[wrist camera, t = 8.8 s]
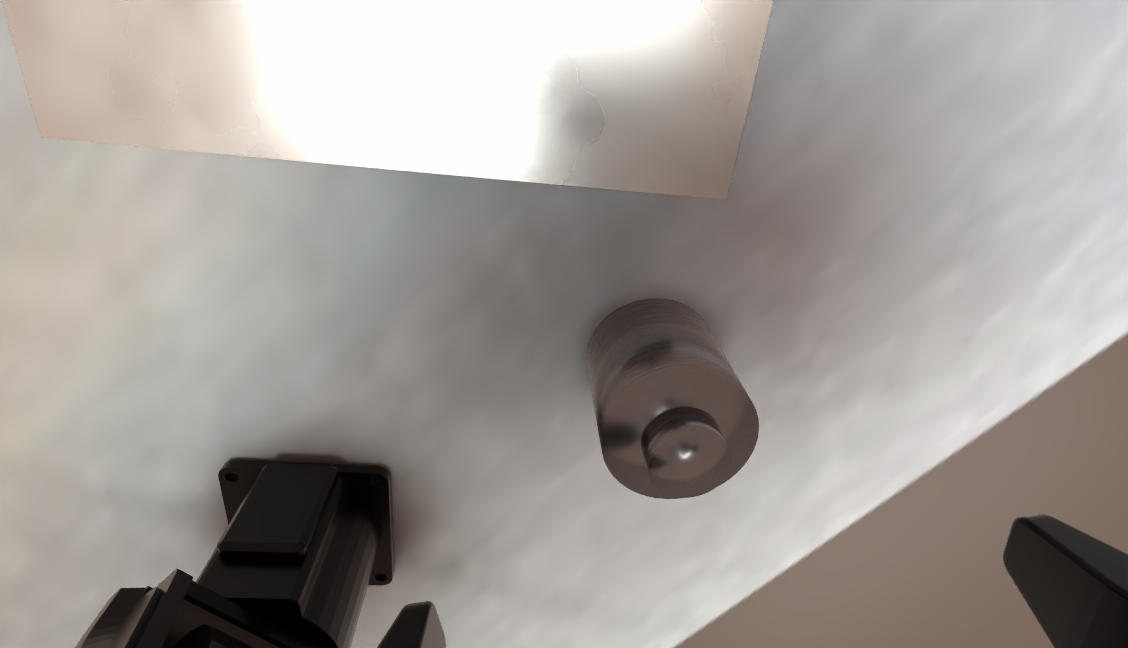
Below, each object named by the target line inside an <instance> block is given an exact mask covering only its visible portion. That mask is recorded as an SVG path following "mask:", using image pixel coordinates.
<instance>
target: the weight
mask: <svg viewBox="0 0 1128 648" xmlns="http://www.w3.org/2000/svg"><path fill="white" fill-rule="evenodd" d="M587 368H588V374H589V380H590V385H591V391H592V397H593V403H594V408H595V414H596V420H597V426H598V431H599V437H600V443H601V448H602V454H603V458H604V461H605V463H606V465H607V467H608V469H609V471H610V472H611V474H612V475H613V476H614V477H615V478H616V479H617V480H618V481H619V482H620V483H621V484H623V485H624V486H626V487H627V488H629V489H630V490H632V491H635V492H637V493H639V494H642V495H645V496H649V497H654V498H663V499H677V498H688V497H695V496H699V495H702V494H705V493H707V492H709V491H711V490H713V489H714V488H716V487H718V486H719V485H721V484H723V483H724V482H726V481H727V480H729V479H730V478H731V477H732V476H734V475H735V474H736V473H737V472H738V471H739V470H740V469H741V468H742V467H743V466H744V464H745V463H746V462H747V460H748V459H749V457H750V456H751V454H752V452H753V450H754V447H755V445H756V442H757V438H758V431H759V423H758V416H757V412H756V409H755V407H754V405H753V403H752V401H751V400H750V398H749V396H748V394H747V393H746V391H745V389H744V388H743V386H742V384H741V383H740V381H739V379H738V378H737V376H736V374H735V373H734V371H733V369H732V367H731V366H730V364H729V362H728V361H727V359H726V357H725V356H724V354H723V352H722V351H721V349H720V347H719V346H718V344H717V342H716V340H715V339H714V337H713V335H712V334H711V332H710V330H709V329H708V327H707V325H706V324H705V322H704V321H703V319H702V318H701V317H700V316H699V315H698V314H697V313H696V312H695V311H693V310H692V309H690V308H689V307H687V306H685V305H683V304H681V303H678V302H675V301H672V300H666V299H645V300H640V301H635V302H632V303H630V304H627V305H625V306H623V307H621V308H619V309H617V310H616V311H614V312H613V313H611V314H610V315H609V316H608V317H606V318H605V319H604V320H603V321H602V322H601V324H600V325H599V326H598V327H597V329H596V330H595V332H594V334H593V336H592V337H591V340H590V343H589V346H588V350H587Z"/></svg>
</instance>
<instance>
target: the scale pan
mask: <svg viewBox="0 0 1128 648" xmlns="http://www.w3.org/2000/svg"><path fill="white" fill-rule="evenodd" d="M773 1H774V0H1V3H2V6H3V9H4V13H5V16H6V20H7V23H8V27H9V30H10V33H11V37H12V40H13V44H14V47H15V51H16V54H17V57H18V61H19V64H20V68H21V71H22V75H23V78H24V81H25V85H26V88H27V92H28V95H29V99H30V102H31V105H32V109H33V112H34V116H35V119H36V123H37V126H38V129H39V133H40V136H41V138H51V139H62V140H73V141H84V142H95V143H106V144H117V145H128V146H139V147H150V148H161V149H172V150H183V151H194V152H205V153H216V154H227V155H238V156H249V157H260V158H271V159H282V160H293V161H304V162H315V163H326V164H337V165H348V166H359V167H370V168H381V169H391V170H402V171H413V172H424V173H435V174H446V175H457V176H468V177H479V178H490V179H501V180H512V181H523V182H534V183H545V184H556V185H567V186H578V187H589V188H600V189H611V190H622V191H633V192H644V193H655V194H666V195H677V196H688V197H699V198H710V199H721V200H727V197H728V193H729V188H730V184H731V180H732V175H733V171H734V167H735V163H736V158H737V154H738V150H739V146H740V141H741V137H742V133H743V129H744V124H745V120H746V116H747V111H748V107H749V103H750V99H751V94H752V90H753V86H754V82H755V77H756V73H757V69H758V65H759V60H760V56H761V52H762V47H763V43H764V39H765V35H766V30H767V26H768V22H769V18H770V13H771V9H772V5H773Z"/></svg>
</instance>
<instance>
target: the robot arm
mask: <svg viewBox="0 0 1128 648" xmlns="http://www.w3.org/2000/svg"><path fill="white" fill-rule="evenodd" d="M231 472H233V473H236V474H237V475H234V474H233V473H231ZM218 477H219V481H220V486H221V491H222V496H223V500H224V505H225V510H226V514H227V519H228V524H229V525H228V527H227V529H226V530H225V532H224V534H223V535H222V537H221V539H220V540H219V542H218V545H217V548H216V549H215V551H214V553H213V554H212V556H211V558H210V560H209V561H208V563H207V565H206V566H205V568H204V570H203V571H202V573H201V575H200V576H199V578H198V580H197V581H196V582H194V581H193V580H192V579H193V577H192V576H190V575H188V574H187V573H185V572H183V571H181V570H179V569H176V570H175V571H174V572H172V573H171V574H170V575H169V576H168V577H167V578H166V579H165V580H164V581H162V582H161V583H160V584H159V585H158V586H157V587H155V588H154V589H153V588H151V587H149V586H147V587H146V588H121V589H120V590H119V591H117V592H116V593H115V594H114V595H113V596H112V597H111V598H110V599H109V601H108V602H107V603H106V605H105V606H104V608H103V609H102V610H101V612H100V613H99V614H98V616H97V617H96V619H95V620H94V621H93V623H92V624H91V625H90V627H89V628H88V630H87V631H86V632H85V634H84V635H83V637H82V638H81V640H80V641H79V642H78V644H77V645H76V647H75V648H350V646H351V643H352V639H353V635H354V632H355V628H356V625H357V621H358V618H359V614H360V611H361V607H362V604H363V600H364V597H365V593H366V590H367V586H368V585H386V584H389V583H390V582H391V581H392V577H393V573H394V551H393V525H392V500H391V476H390V473H389V472H388V471H387V470H386V469H385V468H383V467H378V466H357V465H333V464H309V463H286V462H262V461H239V460H233V461H228V462H226V463H225V464H224V466H223V467H222V469H221V470H220V472H219V476H218ZM373 478H378V479H380V481H377V480H374V479H373ZM1003 561H1004V564H1005V567H1006V569H1007V571H1008V573H1009V575H1010V576H1011V578H1012V580H1013V581H1014V583H1015V585H1016V586H1017V588H1018V589H1019V591H1020V593H1021V594H1022V596H1023V598H1024V599H1025V601H1026V602H1027V604H1028V606H1029V607H1030V609H1031V611H1032V612H1033V614H1034V615H1035V617H1036V619H1037V620H1038V622H1039V624H1040V625H1041V627H1042V628H1043V630H1044V632H1045V633H1046V635H1047V637H1048V638H1049V640H1050V641H1051V643H1052V644H1053V646H1054V648H1128V554H1126V553H1125V552H1123V551H1121V550H1119V549H1116V548H1114V547H1112V546H1110V545H1108V544H1106V543H1104V542H1102V541H1100V540H1098V539H1096V538H1094V537H1092V536H1090V535H1088V534H1086V533H1084V532H1082V531H1080V530H1078V529H1076V528H1074V527H1072V526H1070V525H1067V524H1066V523H1064V522H1061V521H1059V520H1058V519H1056V518H1053V517H1051V516H1048V515H1044V514H1037V515H1030V516H1022V517H1018V518H1016V519H1015V520H1014V521H1013V523H1012V526H1011V529H1010V532H1009V535H1008V539H1007V542H1006V545H1005V548H1004V552H1003ZM377 648H446V642H445V636H444V632H443V629H442V626H441V623H440V620H439V617H438V614H437V611H436V608H435V606H434V604H433V603H432V602H430V601H426V602H419V603H412V604H408V605H406V606H405V607H404V608H403V609H402V610H401V612H400V613H399V615H398V616H397V618H396V619H395V621H394V623H393V624H392V626H391V627H390V629H389V630H388V632H387V633H386V635H385V636H384V638H383V640H382V641H381V643H380V644H379V646H378V647H377Z"/></svg>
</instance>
